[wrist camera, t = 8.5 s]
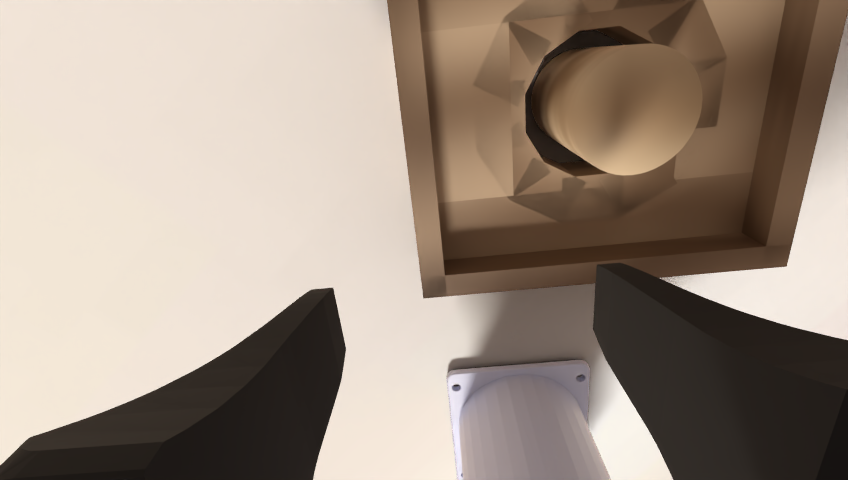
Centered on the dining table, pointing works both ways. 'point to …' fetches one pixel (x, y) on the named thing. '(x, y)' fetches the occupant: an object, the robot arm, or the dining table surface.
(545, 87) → the oak dowel
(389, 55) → the dining table surface
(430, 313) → the dining table surface
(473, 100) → the walnut box
